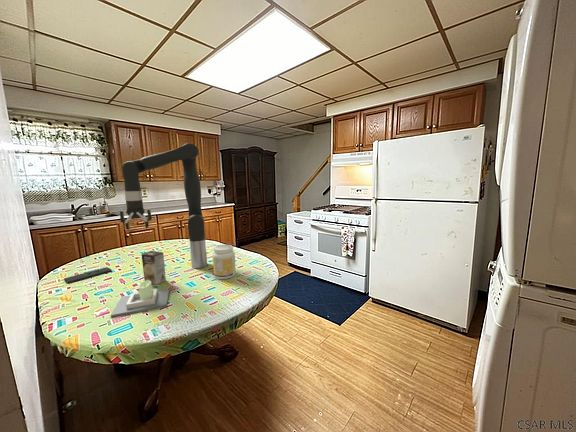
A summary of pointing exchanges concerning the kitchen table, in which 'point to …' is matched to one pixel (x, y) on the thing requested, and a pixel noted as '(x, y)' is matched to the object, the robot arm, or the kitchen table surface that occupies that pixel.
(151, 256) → the coffee box
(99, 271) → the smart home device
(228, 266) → the supplement tub
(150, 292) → the candle
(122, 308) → the holder board
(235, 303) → the kitchen table surface
